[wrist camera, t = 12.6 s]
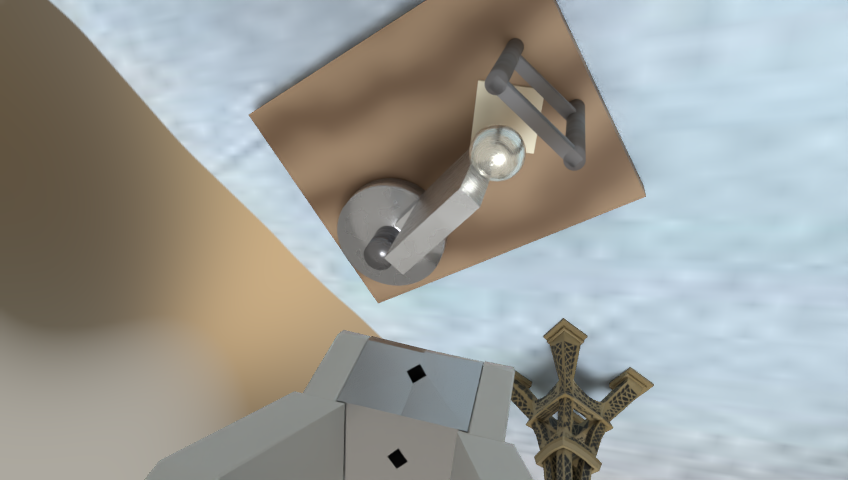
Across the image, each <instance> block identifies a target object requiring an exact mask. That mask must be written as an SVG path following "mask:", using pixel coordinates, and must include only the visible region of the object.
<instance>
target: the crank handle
mask: <svg viewBox="0 0 848 480" xmlns="http://www.w3.org/2000/svg"><path fill="white" fill-rule="evenodd" d="M525 158H526V146H525V143H524V140H523V138H522V137H521V135H520V134H519V133H518V132H517V131H516V130H515V129H513V128H512V127H510V126H507V125H503V124H492V125H489V126H486V127H484V128H482V129H481V130H480V131H478V132H477V133H476V135H475V136H474V137H473V139H472V141H471V143H470V147H469V149H468V150H467V151H466V152H465V153H464V154H463V155H462V156H461V157H460V158H459V159H458V160H457V161H456V162H455V163H454V164H453V165H452V166H451V167H450V168H449V169H447V170H446V171H445V172H444V173H443V174H442V175H441V176H440V177H439V178H438V179H437V180H436V181H435V182H434V183H433V184H432V185H431V186H430V187H429V188H428V189H427V190H426V191H425V190H424V189H422V188H421V187H419V186H417V185H415V184H413V183H411V182H408V181H405V180H401V179H394V178H384V179H378V180H375V181H372V182H369V183H367V184H365V185H364V186H362V187H361V188H360V189H359V190H357V191H356V193H355V194H354V195H353V196H352V197H351V199H350V200H349V201H348V202H347V203H346V205H345V206H344V207H343V209H342V211H341V213H340V216H339V219H338V224H337V235H338V240H339V244H340V247H341V249H342V251H343V253H344V255H345V256H346V258H347V259H348V261H349V262H350V263H351V264H352V265H353V266H354V267H355V268H356V269H357V270H358V271H359V272H360V273H362V274H363V275H365V276H366V277H368V278H370V279H372V280H374V281H377V282H379V283H383V284H387V285H394V286H402V285H409V284H413V283H416V282H419V281H421V280H423V279H424V278H426V277H427V276H429V275H430V274H431V273H432V272H433V271H434V269H435V268H436V267H437V265H438V263H439V261H440V259H441V257H442V255H443V252H444V250H445V247H446V244H447V240H448V235H449V234H450V233H451V232H452V231H454V230H455V229H456V228H457V227H458V226H459V225H460V224H462V223H463V222H464V221H465V220H466V219H467V218H468V217H470V216H471V215H472V214H473V213H474V212H475V211H476V210H477V209H479V208H480V206H481V203H482V201H483V198H484V195H485V192H486V189H487V187H488V184H489V181H495V182H499V181H505V180H508V179H510V178H512V177H513V176H515V175H516V174H517V173H518V172H519V171H520V169H521V168H522V166H523V164H524V162H525Z"/></svg>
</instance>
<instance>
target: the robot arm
mask: <svg viewBox="0 0 848 480" xmlns="http://www.w3.org/2000/svg"><path fill="white" fill-rule="evenodd" d="M483 364H484V366H483ZM514 375H515V370H514V367H511V366H506V365H501V364H495V363H490V362H485V363H484V362H482V361H478V360H473V359H468V358H464V357H459V356H454V355H449V354H445V353H440V352H435V351H431V350H426V349H422V348H418V347H414V346H410V345H406V344H402V343H398V342H394V341H389V340H385V339H381V338H377V337H373V336H372V337H370V336H367V335H363V334H359V333H354V332H350V331H346V330H343V331H342V332H340V333H339V334H338V335H337V337H336V338H335V340H334V342H333V344H332V345H331V347H330V348H329V350H328V352H327V353H326V355H325V357H324V358H323V360H322V362H321V363H320V365H319V367H318V368H317V370H316V372H315V374H314V375H313V377H312V379H311V380H310V382H309V384H308V385H307V387H306V389H305V390H304V392H303V393H298V392H292V393H290V394H288V395H286V396H285V397H283V398H281V399H279V400H277V401H275V402H273V403H271V404H269V405H267V406H265V407H263V408H261V409H259V410H257V411H256V412H253V413H251V414H250V415H247V416H246V417H244V418H242V419H240V420H238V421H236V422H234V423H232V424H230V425H228V426H226V427H224V428H222V429H220V430H218V431H216V432H214V433H213V434H210V435H209V436H207V437H205V438H203V439H201V440H199V441H197V442H195V443H193V444H191V445H189V446H187V447H185V448H183V449H181V450H179V451H177V452H176V453H173V454H171V455H170V456H168V457H166V458H164V459H162V460H160V461H159V462H158V463H157V464H156V466H155V467H154V468H153V469H152V471H151V472H150V473H149V474H148V476H147V477H146V478H145V480H534V479H533V477H532V475H531V474H530V472H529V470H528V468H527V467H526V465H525V463H524V461H523V460H522V458H521V456H520V454H519V453H518V451H517V449H516V447H515V446H514V444H510V443H506V442H505V436H506V429H507V422H508V416H509V409H510V402H511V396H512V389H513V382H514Z"/></svg>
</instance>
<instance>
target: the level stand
mask: <svg viewBox="0 0 848 480" xmlns="http://www.w3.org/2000/svg"><path fill="white" fill-rule="evenodd" d="M249 116H250V118H251V119H252V120H253V122H254V123H255V125H256V126H257V128H258V129H259V131H260V132H261V134H262V135H263V136H264V138H265V139H266V141H267V142H268V144H269V145H270V147H271V148H272V150H273V151H274V152H275V154H276V155H277V157H278V158H279V160H280V161H281V163H282V164H283V166H284V167H285V168H286V170H287V171H288V173H289V174H290V176H291V177H292V179H293V180H294V182H295V183H296V185H297V186H298V187H299V189H300V190H301V192H302V193H303V195H304V196H305V198H306V199H307V201H308V202H309V203H310V205H311V206H312V208H313V209H314V211H315V212H316V214H317V215H318V217H319V218H320V219H321V221H322V222H323V224H324V225H325V227H326V228H327V230H328V231H329V233H330V234H331V235H332V237H333V238H334V240H335V241H336V243H337V244H338V246H339V247H340V244H339V240H338V235H337V224H338V219H339V216H340V213H341V211H342V209H343V207H344V206H345V205H346V203H347V202H348V201H349V200H350V199H351V197H352V196H353V195H354V194H355V193H356V191H357V190H359V189H360V188H361V187H362V186H364V185H365V184H367V183H369V182H372V181H375V180H378V179H384V178H394V179H401V180H405V181H408V182H411V183H413V184H415V185H417V186H419V187H421V188H422V189H424V190H425V191H426V190H427V189H428V188H429V187H430V186H431V185H432V184H433V183H434V182H435V181H436V180H437V179H438V178H439V177H440V176H441V175H442V174H443V173H444V172H445V171H446V170H447V169H449V168H450V167H451V166H452V165H453V164H454V163H455V162H456V161H457V160H458V159H459V158H460V157H461V156H462V155H463V154H464V153H465V152H466V151H467V150H468V149H469V147H470V143H471V141H472V139H473V137H474V136H475V135H476V133H477V132H478V131H480V130H481V129H482V128H484V127H486V126H489V125H492V124H503V125H507V126H510V127H512V128H513V129H515V130H516V131H517V132H518V133H519V134H520V135H521V137H522V138H523V140H524V143H525V146H526V158H525V162H524V164H523V166H522V168H521V169H520V171H519V172H518V173H517V174H516V175H515V176H513V177H512V178H510V179H508V180H505V181H499V182H495V181H489V184H488V187H487V189H486V192H485V195H484V198H483V201H482V203H481V206H480V208H479V209H477V210H476V211H475V212H474V213H473V214H472V215H471V216H470V217H468V218H467V219H466V220H465V221H464V222H463V223H462V224H460V225H459V226H458V227H457V228H456V229H455V230H454V231H452V232H451V233H450V234H449V235H448V240H447V244H446V247H445V250H444V252H443V255H442V257H441V259H440V261H439V263H438V265H437V267H436V268H435V269H434V271H433V272H432V273H431V274H430V275H429V276H427V277H426V278H424V279H423V280H421V281H419V282H416V283H413V284H409V285H402V286H394V285H387V284H383V283H379V282H377V281H374V280H372V279H370V278H368V277H366V276H365V275H363V274H362V273H360V272H359V271H358V270H357V269H356V268H355V267H354V266H353V265H352V264H351V265H352V266H353V267H354V269H355V270H356V272H357V273H358V275H359V276H360V278H361V279H362V281H363V282H364V283H365V285H366V286H367V288H368V289H369V291H370V292H371V294H372V295H373V297H374V298H375V299H376V301H377V302H378V303H380V302H383V301H385V300H388V299H390V298H393V297H395V296H398V295H400V294H403V293H405V292H408V291H410V290H413V289H415V288H418V287H420V286H423V285H425V284H428V283H430V282H433V281H435V280H438V279H440V278H443V277H445V276H448V275H450V274H453V273H455V272H458V271H460V270H463V269H466V268H468V267H471V266H473V265H476V264H478V263H481V262H483V261H486V260H488V259H491V258H493V257H496V256H498V255H501V254H503V253H506V252H508V251H511V250H513V249H516V248H518V247H521V246H523V245H526V244H528V243H531V242H533V241H536V240H538V239H541V238H543V237H546V236H548V235H551V234H553V233H556V232H558V231H561V230H563V229H566V228H568V227H571V226H573V225H576V224H578V223H581V222H583V221H586V220H588V219H591V218H593V217H596V216H598V215H601V214H603V213H606V212H608V211H611V210H613V209H616V208H618V207H621V206H623V205H626V204H628V203H631V202H633V201H636V200H638V199H641V198H643V197H646V194H645V190H644V186H643V184H642V181H641V179H640V177H639V175H638V173H637V171H636V169H635V167H634V165H633V162H632V160H631V158H630V156H629V154H628V152H627V150H626V148H625V145H624V143H623V141H622V139H621V137H620V135H619V133H618V131H617V129H616V126H615V124H614V122H613V120H612V118H611V116H610V114H609V112H608V110H607V107H606V105H605V103H604V101H603V99H602V97H601V95H600V93H599V90H598V88H597V86H596V84H595V82H594V80H593V78H592V76H591V74H590V71H589V69H588V67H587V65H586V63H585V61H584V59H583V57H582V54H581V52H580V50H579V48H578V46H577V44H576V42H575V40H574V38H573V35H572V33H571V31H570V29H569V27H568V25H567V23H566V21H565V19H564V16H563V14H562V12H561V10H560V8H559V6H558V4H557V2H556V0H426V1H424V2H422V3H421V4H419V5H418V6H416V7H415V8H413V9H412V10H410V11H409V12H407V13H405V14H404V15H402V16H401V17H399V18H398V19H396V20H395V21H393V22H392V23H390V24H388V25H387V26H385V27H384V28H382V29H381V30H379V31H378V32H376V33H375V34H373V35H371V36H370V37H368V38H367V39H365V40H364V41H362V42H361V43H359V44H357V45H356V46H354V47H353V48H351V49H350V50H348V51H347V52H345V53H344V54H342V55H340V56H339V57H337V58H336V59H334V60H333V61H331V62H330V63H328V64H327V65H325V66H323V67H322V68H320V69H319V70H317V71H316V72H314V73H313V74H311V75H309V76H308V77H306V78H305V79H303V80H302V81H300V82H299V83H297V84H296V85H294V86H292V87H291V88H289V89H288V90H286V91H285V92H283V93H282V94H280V95H279V96H277V97H275V98H274V99H272V100H271V101H269V102H268V103H266V104H265V105H263V106H261V107H260V108H258V109H257V110H255V111H254V112H252V113H251V114H249ZM340 249H341V247H340ZM341 250H342V249H341Z"/></svg>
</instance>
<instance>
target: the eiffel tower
mask: <svg viewBox="0 0 848 480" xmlns="http://www.w3.org/2000/svg"><path fill="white" fill-rule="evenodd" d="M544 338H545V339H546V340H547V343H548V344H550V347H551V351H552V355H553V358H554V362H555V366H556V370H557V373H558V377H559V381H558V382H557V384H556V385H555V386H554V387H553V388H552V390H551V391H550V392H549V393H548V394H547V395H546V396H545V397H543V398H541V399H537V398H536V396H535V395H534V394H533V393H532V392H531V391H530V390H529V388H530V387H531V386H532V382H531V381H529V380H528V379H527V378H525V377H524V376H522V375H521V374H519V373H518V372H517V371H515V375H514V382H513V389H512V396H511V400H512V402H513V403H514V404H515V405H516V406H517V407H518V408H519V409H520V410H521V411H522V412H523V413H524V414H525V415H526V416H527V417H528V418H529V421H528V422H527V423H526V425H527V426H528V427H530V428H532V429H533V430H534V432H535V434H536V437H537V441H538V444H539V448H540V451H539V452H538V453H537V455H536V456H535V457H534V458H535V461H536V464H537V465H539V466H541V467H543V468H544V479H545V480H591V474H593V473H595V472H598V471H599V470H600V467H601V465H602V463H601V462H600V461H599V460H598V459H597V458H596V455H597V452H598V449H599V445H600V442H601V439H602V437H603V435H604V434H605V432H607V431H609V430H611V429H613V426H612V425H611V423H610V421H611V420H612V419H613V418H614V417H616V416H617V415H618V414H619V413H620V412H621V411H623V410H624V409H625V408H626V407H627V406H628V405H629V404H630V403H631V402H632V401H633V400H635V399H636V398H638V397H639V396H640V395H642V394H643V393H645V392H646V391H647V390H649V389H650V388H651V387H653V386H654V384H653V383H652V382H650V381H649V380H647V379H646V378H645V377H643V376H642V375H641V374H639V373H638V372H636V371H635V370H634V369H632V368H631V367H630V368H629V369H627V370H626V371H625V372H623V373H622V374H621V375H619V376H618V377H617V378H616V379H614V380H613V381H612V382H610V383H609V388H611V389H612V391H611V392H610V393H609V394H608V395H607V396H606V397H605V398H604V399H603V400H602V401H601V402H598V401H596V400H593V399H592V398H590V397H589V396H587V395H586V394H585V393H584V392H583V391H582V390H581V389H580V388H579V386H578V385H577V384H576V383H575V381H574V375H575V370H576V365H577V360H578V355H579V350H580V345H581V344H582V343H584V340H585V339H586V338H587V335H586V334H584V333H583V332H582V331H580V330H579V329H578V328H576V327H575V326H574V325H572V324H571V323H569V322H568V321H567V320H565V319H564V318H563V319H562V320H561V321H560V322H559V323H558V324H556V325H555V326H554V327H553V328H552V329H551V330H550V331H549V332H548V333H546V334H545V335H544ZM573 409H574V410H576V411H577V412H579V413H580V414H582V415H583V416H584V417H585V418H587V419H586V420H584V419H583V418H581V417H580V416H579V415H577V414H576V413H574V412H573ZM557 411H558V420H556V419H555V418H554V417H552V415H553V414H555V413H556V412H557Z"/></svg>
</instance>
